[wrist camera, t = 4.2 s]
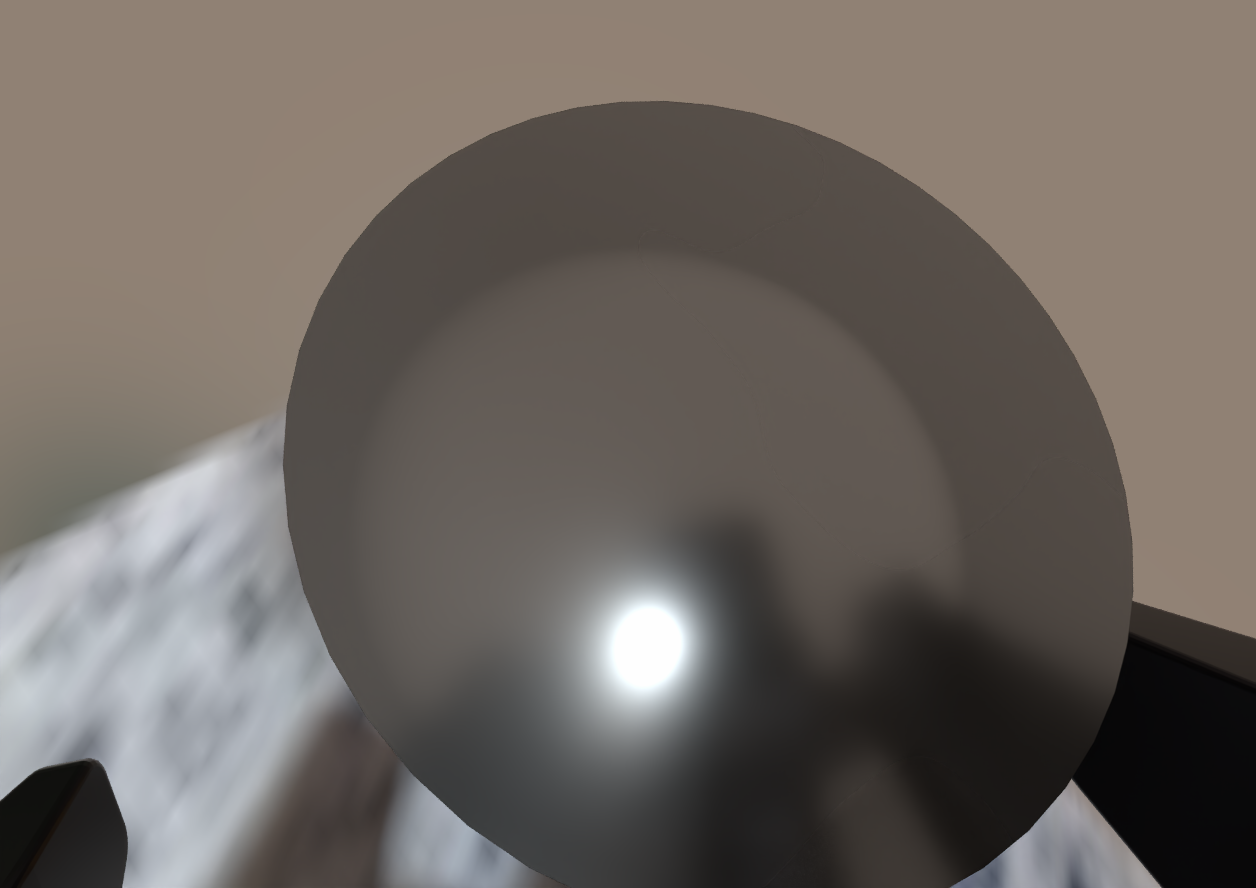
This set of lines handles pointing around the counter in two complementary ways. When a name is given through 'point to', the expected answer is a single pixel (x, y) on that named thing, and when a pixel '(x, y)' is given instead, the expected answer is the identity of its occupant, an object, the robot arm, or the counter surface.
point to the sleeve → (707, 508)
